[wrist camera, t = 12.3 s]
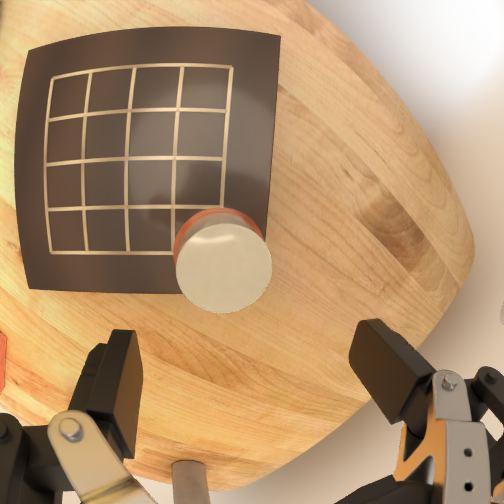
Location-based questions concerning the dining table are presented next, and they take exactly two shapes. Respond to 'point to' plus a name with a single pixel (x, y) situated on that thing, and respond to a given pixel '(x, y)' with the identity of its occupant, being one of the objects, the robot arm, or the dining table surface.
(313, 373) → the dining table surface
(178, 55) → the board
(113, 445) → the robot arm
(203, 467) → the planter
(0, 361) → the pottery
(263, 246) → the white short cylinder
